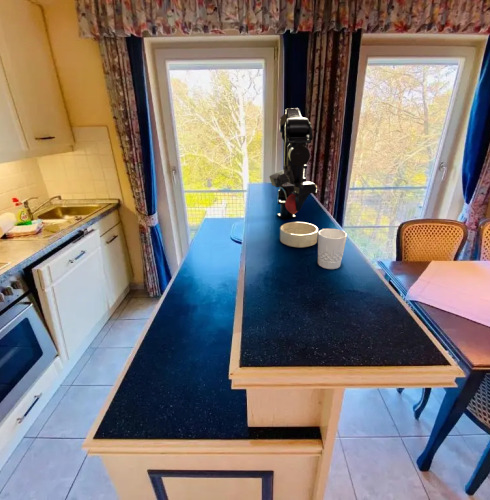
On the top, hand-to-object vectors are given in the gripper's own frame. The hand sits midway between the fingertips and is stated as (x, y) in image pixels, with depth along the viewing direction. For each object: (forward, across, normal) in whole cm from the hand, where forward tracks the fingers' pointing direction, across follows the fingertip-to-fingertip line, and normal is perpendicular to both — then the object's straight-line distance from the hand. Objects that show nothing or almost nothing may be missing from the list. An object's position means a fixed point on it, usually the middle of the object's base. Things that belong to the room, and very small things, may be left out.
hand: (293, 208), depth 97 cm
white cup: (+12, +21, +2) cm, 24 cm away
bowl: (+12, +2, +2) cm, 12 cm away
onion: (+2, 0, 0) cm, 2 cm away
